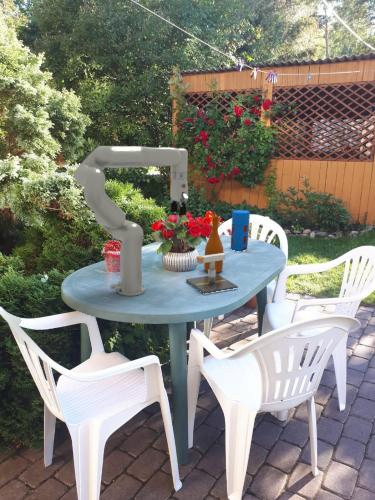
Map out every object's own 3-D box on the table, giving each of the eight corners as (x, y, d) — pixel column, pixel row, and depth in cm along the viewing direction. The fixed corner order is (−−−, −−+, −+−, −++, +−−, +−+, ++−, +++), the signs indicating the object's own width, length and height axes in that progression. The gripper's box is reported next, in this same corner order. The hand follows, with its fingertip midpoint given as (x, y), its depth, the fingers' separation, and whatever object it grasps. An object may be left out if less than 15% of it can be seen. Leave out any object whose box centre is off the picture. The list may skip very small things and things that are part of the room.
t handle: (224, 267, 178) (225, 254, 176) (199, 271, 171) (199, 257, 169) (221, 266, 180) (222, 252, 178) (196, 270, 173) (196, 256, 171)
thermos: (227, 248, 245) (229, 210, 238) (241, 247, 249) (243, 209, 242) (236, 252, 235) (238, 213, 228) (250, 251, 240) (253, 212, 233)
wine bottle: (223, 268, 203) (226, 214, 195) (220, 274, 194) (223, 217, 186) (206, 267, 205) (208, 213, 197) (202, 272, 196) (204, 216, 188)
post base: (203, 294, 166) (204, 278, 164) (186, 281, 182) (186, 266, 180) (237, 289, 174) (238, 273, 172) (217, 277, 189) (218, 262, 187)
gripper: (194, 177, 165) (193, 216, 169) (178, 174, 180) (177, 210, 184) (179, 178, 161) (178, 217, 166) (164, 175, 176) (163, 210, 181)
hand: (178, 213), depth 175 cm, fingers open, 9 cm apart
